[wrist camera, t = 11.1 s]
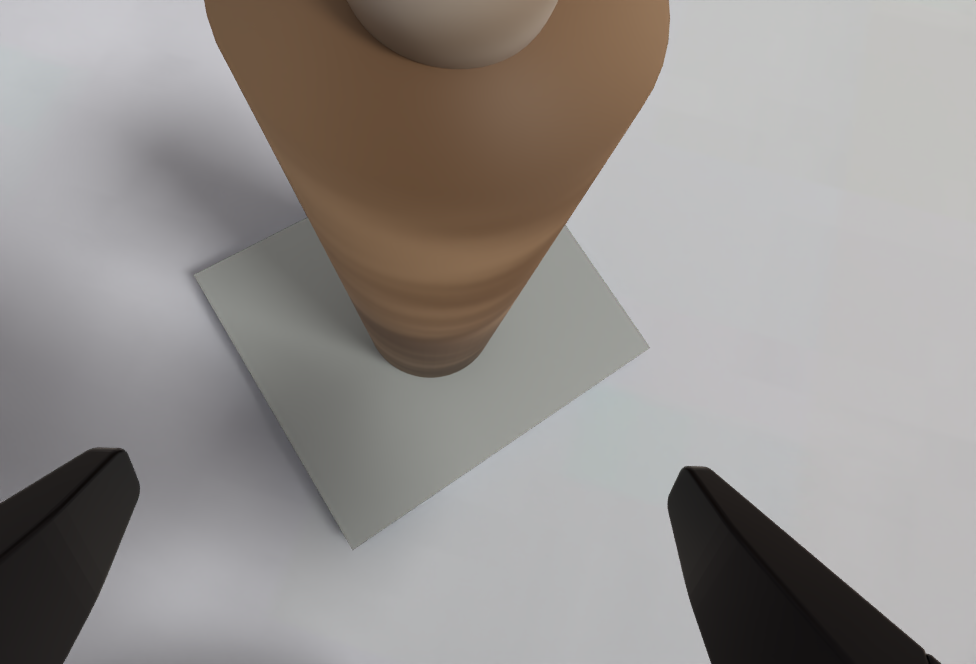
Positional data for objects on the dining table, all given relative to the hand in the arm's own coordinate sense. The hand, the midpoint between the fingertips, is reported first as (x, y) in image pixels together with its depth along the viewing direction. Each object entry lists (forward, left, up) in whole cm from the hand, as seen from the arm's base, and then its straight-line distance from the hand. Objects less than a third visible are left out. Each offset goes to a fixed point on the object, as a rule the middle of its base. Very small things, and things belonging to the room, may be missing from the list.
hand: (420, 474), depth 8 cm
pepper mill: (+3, +4, -11) cm, 12 cm away
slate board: (+3, +5, -12) cm, 13 cm away
